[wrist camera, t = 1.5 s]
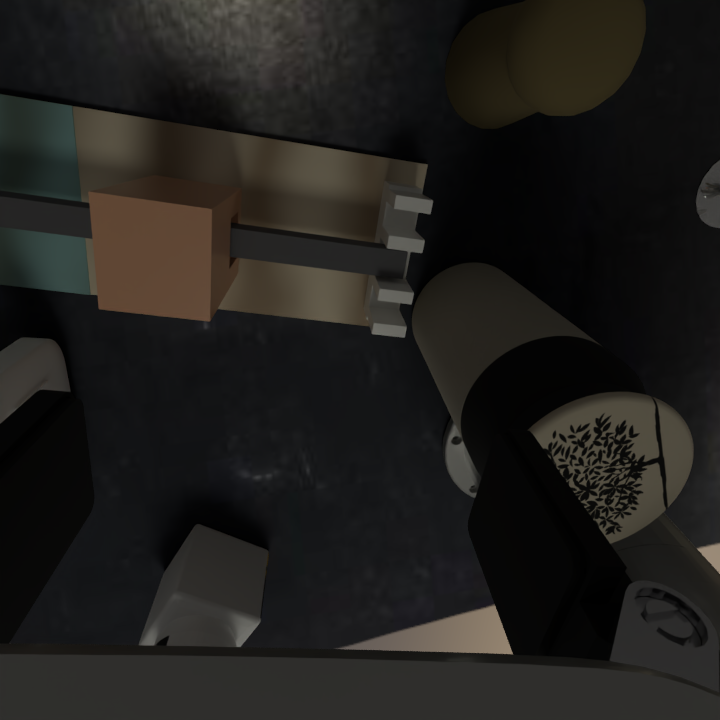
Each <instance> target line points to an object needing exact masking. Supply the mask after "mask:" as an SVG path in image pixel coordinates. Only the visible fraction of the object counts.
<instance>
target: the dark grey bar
mask: <svg viewBox="0 0 720 720" xmlns="http://www.w3.org/2000/svg"><path fill="white" fill-rule="evenodd" d="M0 227H4V228H12V229H20V230H27V231H35V232H43V233H50V234H58V235H66V236H74V237H81V238H89V239H93V238H92V227H91V216H90V205H89V203H87V202H80V201H73V200H66V199H59V198H52V197H44V196H37V195H30V194H23V193H16V192H8V191H1V190H0ZM407 255H408V252H407V251H402V250H395V249H388V248H386V246H385V244H382V243H374V242H367V241H360V240H353V239H346V238H339V237H331V236H324V235H317V234H310V233H303V232H296V231H288V230H281V229H274V228H267V227H260V226H252V225H245V224H238V223H231V230H230V257H236V258H243V259H251V260H259V261H267V262H274V263H282V264H290V265H297V266H305V267H313V268H321V269H328V270H336V271H344V272H351V273H359V274H367V275H375V276H382V277H390V278H398V279H403V275H404V270H405V265H406V260H407Z"/></svg>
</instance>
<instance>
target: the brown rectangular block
mask: <svg viewBox="0 0 720 720" xmlns="http://www.w3.org/2000/svg"><path fill="white" fill-rule="evenodd" d="M88 193H89V205H90V216H91V227H92V238H93V249H94V260H95V271H96V282H97V293H98V304H99V309H102V310H111V311H120V312H129V313H138V314H147V315H156V316H165V317H174V318H183V319H192V320H201V321H211V319H212V317H213V316H214V314H215V312H216V311H217V309H218V307H219V305H220V304H221V302H222V300H223V299H224V297H225V295H226V293H227V292H228V290H229V288H230V287H231V285H232V283H233V281H234V280H235V278H236V276H237V274H238V268H239V258H236V257H230V230H231V223H238V224H240V221H241V197H242V188H237V187H230V186H224V185H217V184H210V183H204V182H197V181H190V180H184V179H177V178H170V177H164V176H157V175H152V176H148V177H144V178H140V179H136V180H132V181H128V182H124V183H120V184H116V185H112V186H108V187H104V188H100V189H96V190H92V191H88Z"/></svg>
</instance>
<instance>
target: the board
mask: <svg viewBox="0 0 720 720" xmlns="http://www.w3.org/2000/svg"><path fill="white" fill-rule="evenodd" d="M427 166H428V165H427V164H421V163H415V162H409V161H403V160H397V159H391V158H385V157H379V156H373V155H367V154H361V153H355V152H349V151H343V150H337V149H331V148H325V147H318V146H312V145H306V144H300V143H294V142H288V141H282V140H276V139H270V138H264V137H258V136H252V135H246V134H240V133H234V132H228V131H222V130H215V129H209V128H203V127H197V126H191V125H185V124H179V123H173V122H167V121H161V120H155V119H149V118H143V117H137V116H131V115H125V114H119V113H112V112H106V111H100V110H94V109H88V108H82V107H76V106H70V105H64V104H58V103H52V102H46V101H40V100H34V99H28V98H22V97H16V96H9V95H3V94H0V190H1V191H8V192H16V193H23V194H30V195H37V196H44V197H52V198H59V199H66V200H73V201H80V202H87V203H89V193H88V191H92V190H96V189H100V188H104V187H108V186H112V185H116V184H120V183H124V182H128V181H132V180H136V179H140V178H144V177H148V176H152V175H157V176H164V177H170V178H177V179H184V180H190V181H197V182H204V183H210V184H217V185H224V186H230V187H237V188H242V197H241V221H240V224H245V225H252V226H260V227H267V228H274V229H281V230H288V231H296V232H303V233H310V234H317V235H324V236H331V237H339V238H346V239H353V240H360V241H367V242H374V241H375V235H376V229H377V223H378V217H379V211H380V205H381V199H382V193H383V187H384V181H390V182H396V183H402V184H409V185H415V186H417V187H419V188H421V189H423V186H424V181H425V176H426V171H427ZM368 278H369V275H367V274H359V273H351V272H344V271H336V270H328V269H321V268H313V267H305V266H297V265H290V264H282V263H274V262H267V261H259V260H251V259H243V258H239V268H238V274H237V276H236V278H235V280H234V281H233V283H232V285H231V287H230V288H229V290H228V292H227V293H226V295H225V297H224V299H223V300H222V302H221V304H220V305H219V307H218V309H223V310H232V311H241V312H250V313H258V314H267V315H276V316H285V317H293V318H302V319H311V320H319V321H328V322H337V323H346V324H354V325H363V326H370V325H369V321H368V320H367V319H366V315H365V312H364V302H365V296H366V290H367V284H368ZM0 285H9V286H17V287H26V288H35V289H44V290H52V291H61V292H70V293H79V294H87V295H90V294H92V295H98V293H97V282H96V271H95V260H94V249H93V239H89V238H81V237H74V236H66V235H58V234H50V233H43V232H35V231H27V230H20V229H12V228H4V227H0Z"/></svg>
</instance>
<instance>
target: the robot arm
mask: <svg viewBox="0 0 720 720" xmlns="http://www.w3.org/2000/svg"><path fill="white" fill-rule="evenodd" d="M442 450H443V457H444V461H445V464H446V467H447V470H448V472H449V474H450V476H451V478H452V480H453V481H454V482H455V484H456V485H457V486H458V487H459V488H460V489H461V490H462V491H464V492H465V493H466V494H468V495H469V496H471V497H474V498H475V500H474V503H473V506H472V510H471V513H470V516H469V520H468V531H469V535H470V538H471V540H472V543H473V546H474V549H475V551H476V554H477V557H478V560H479V562H480V565H481V568H482V570H483V573H484V576H485V579H486V581H487V584H488V587H489V590H490V592H491V595H492V598H493V600H494V603H495V606H496V609H497V611H498V614H499V617H500V619H501V622H502V625H503V628H504V630H505V633H506V636H507V639H508V641H509V644H510V647H511V650H512V652H513V655H511V654H488V653H453V652H418V651H416V652H415V651H382V650H344V649H302V648H257V647H211V646H155V645H96V644H9V642H10V641H11V639H12V638H13V636H14V634H15V633H16V631H17V630H18V628H19V626H20V625H21V623H22V622H23V620H24V618H25V617H26V615H27V614H28V612H29V610H30V609H31V607H32V606H33V604H34V602H35V601H36V599H37V598H38V596H39V594H40V593H41V591H42V590H43V588H44V586H45V585H46V583H47V582H48V580H49V578H50V577H51V575H52V574H53V572H54V570H55V569H56V567H57V566H58V564H59V562H60V561H61V559H62V558H63V556H64V554H65V553H66V551H67V550H68V548H69V546H70V545H71V543H72V542H73V540H74V538H75V537H76V535H77V534H78V532H79V530H80V529H81V527H82V526H83V524H84V522H85V521H86V519H87V518H88V516H89V514H90V513H91V510H92V508H93V504H94V490H93V482H92V474H91V466H90V458H89V450H88V441H87V433H86V425H85V417H84V409H83V404H82V401H81V400H79V399H75V397H74V395H73V393H71V392H67V391H55V390H44V389H43V390H39V391H37V392H36V393H35V394H33V395H32V396H31V397H30V398H29V399H28V400H27V401H25V402H24V403H23V404H22V405H21V406H20V407H19V408H17V409H16V410H15V411H14V412H13V413H12V414H11V415H9V416H8V417H7V418H6V419H5V420H4V421H3V422H2V423H0V720H720V574H719V573H718V572H717V571H716V569H715V568H714V567H713V566H712V565H711V564H710V563H709V562H708V561H707V560H706V558H705V557H704V556H702V554H701V553H700V552H699V551H698V550H697V549H696V547H695V546H694V545H693V544H692V543H691V542H690V541H689V540H688V539H687V538H686V536H685V535H684V534H683V533H682V532H681V531H680V530H679V529H678V528H677V527H676V525H675V524H674V523H673V522H672V521H671V520H670V519H669V518H668V517H667V515H666V514H665V513H664V512H663V513H662V514H661V515H660V516H659V517H657V518H656V519H655V520H654V521H652V522H651V523H650V524H648V525H647V526H645V527H644V528H642V529H641V530H639V531H637V532H636V533H634V534H632V535H630V536H628V537H626V538H624V539H621V540H619V541H616V542H614V543H611V544H610V543H609V541H608V540H607V538H606V537H605V536H604V534H603V533H602V531H601V530H600V528H599V527H598V526H597V524H596V523H595V521H594V520H593V519H592V517H591V516H590V514H589V513H588V511H587V510H586V509H585V507H584V506H583V504H582V503H581V502H580V500H579V499H578V497H577V496H576V494H575V493H574V492H573V490H572V489H571V487H570V486H569V485H568V483H567V482H566V480H565V479H564V477H563V476H562V475H561V473H560V472H559V470H558V469H557V468H556V466H555V465H554V463H553V462H552V460H551V459H550V458H549V456H548V455H547V453H546V452H545V451H544V449H543V448H542V446H541V445H540V443H539V442H538V441H537V439H536V438H535V436H534V435H533V434H532V433H531V432H530V431H528V430H517V429H504V430H503V432H502V433H501V434H497V435H496V436H495V437H494V439H493V443H492V446H491V449H490V452H489V455H488V459H487V462H486V465H485V468H484V471H483V474H482V478H481V477H480V475H479V474H478V472H477V470H476V468H475V466H474V464H473V462H472V460H471V458H470V456H469V454H468V451H467V449H466V447H465V445H464V443H463V441H462V438H461V436H460V434H459V432H458V430H457V428H456V426H455V423H454V421H453V419H452V417H451V419H450V421H449V422H448V424H447V427H446V430H445V433H444V437H443V447H442Z"/></svg>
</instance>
